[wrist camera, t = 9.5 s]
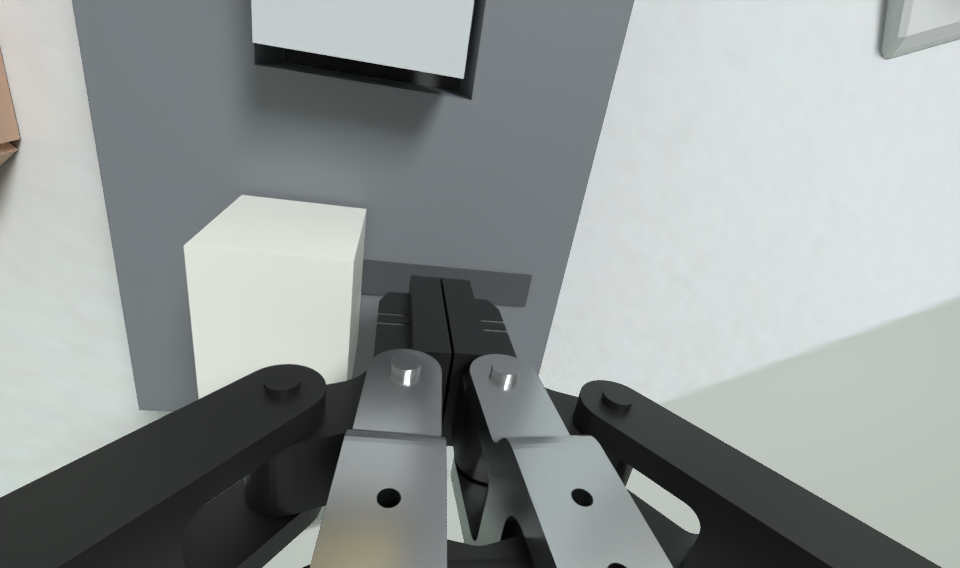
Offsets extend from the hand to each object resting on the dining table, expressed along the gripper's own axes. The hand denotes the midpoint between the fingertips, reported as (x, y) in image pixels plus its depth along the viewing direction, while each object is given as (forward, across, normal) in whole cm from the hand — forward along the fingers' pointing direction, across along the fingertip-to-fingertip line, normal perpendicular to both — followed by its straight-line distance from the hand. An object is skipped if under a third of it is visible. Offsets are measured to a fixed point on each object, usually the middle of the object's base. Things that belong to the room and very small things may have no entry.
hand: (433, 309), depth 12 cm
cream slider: (+1, +3, 0) cm, 4 cm away
